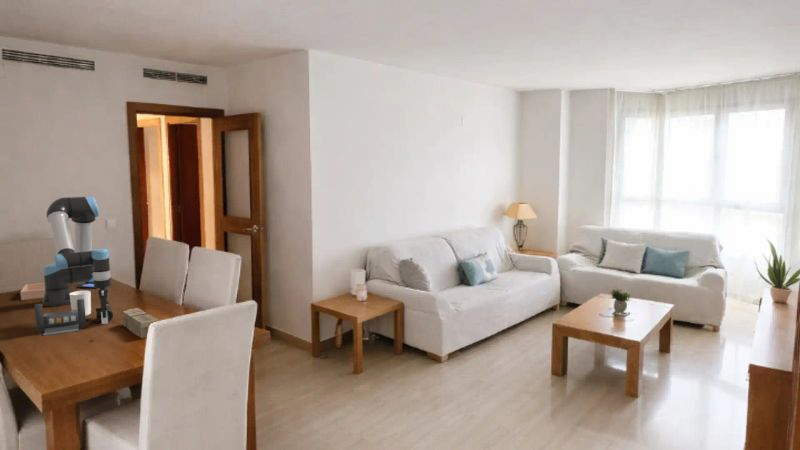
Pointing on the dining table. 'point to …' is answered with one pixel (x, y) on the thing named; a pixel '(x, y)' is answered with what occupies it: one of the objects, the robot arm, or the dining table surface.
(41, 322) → the post
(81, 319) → the post
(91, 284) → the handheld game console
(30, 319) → the dining table surface
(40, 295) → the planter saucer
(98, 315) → the black rounded block
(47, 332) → the mat
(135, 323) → the block tower
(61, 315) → the breaker panel
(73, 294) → the candle holder
